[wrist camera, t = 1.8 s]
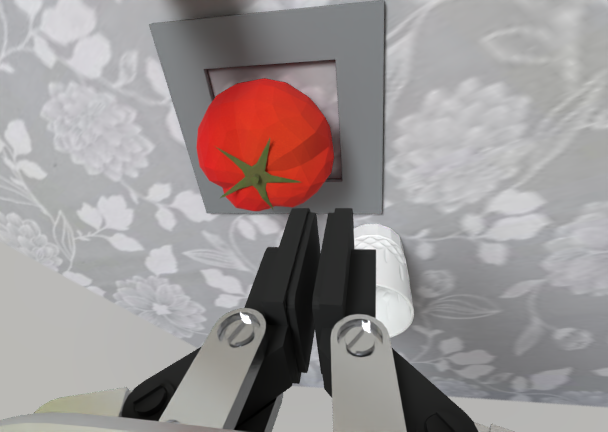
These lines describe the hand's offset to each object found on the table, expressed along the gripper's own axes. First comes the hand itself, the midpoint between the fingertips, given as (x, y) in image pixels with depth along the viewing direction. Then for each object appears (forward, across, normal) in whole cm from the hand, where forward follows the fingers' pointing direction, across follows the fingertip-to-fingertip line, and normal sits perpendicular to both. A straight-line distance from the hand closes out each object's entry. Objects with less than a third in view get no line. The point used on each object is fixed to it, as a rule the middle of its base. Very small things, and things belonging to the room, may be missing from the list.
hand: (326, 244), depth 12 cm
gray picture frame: (+25, +8, +6) cm, 27 cm away
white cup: (+25, -1, +21) cm, 33 cm away
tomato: (+25, +8, +6) cm, 27 cm away
